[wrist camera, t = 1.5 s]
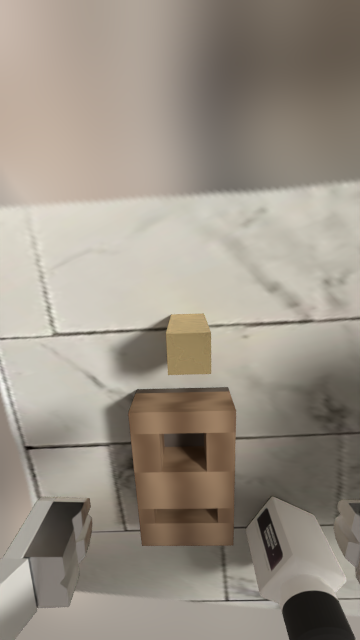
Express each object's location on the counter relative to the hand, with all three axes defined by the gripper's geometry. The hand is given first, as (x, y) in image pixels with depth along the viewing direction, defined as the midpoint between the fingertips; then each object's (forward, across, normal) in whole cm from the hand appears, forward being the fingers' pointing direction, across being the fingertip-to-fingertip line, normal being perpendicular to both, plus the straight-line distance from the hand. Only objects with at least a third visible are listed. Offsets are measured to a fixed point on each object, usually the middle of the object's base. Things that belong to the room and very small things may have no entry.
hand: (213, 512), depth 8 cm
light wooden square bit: (+22, 0, 0) cm, 22 cm away
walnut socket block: (+22, 0, +18) cm, 29 cm away
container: (+22, -15, +30) cm, 40 cm away
